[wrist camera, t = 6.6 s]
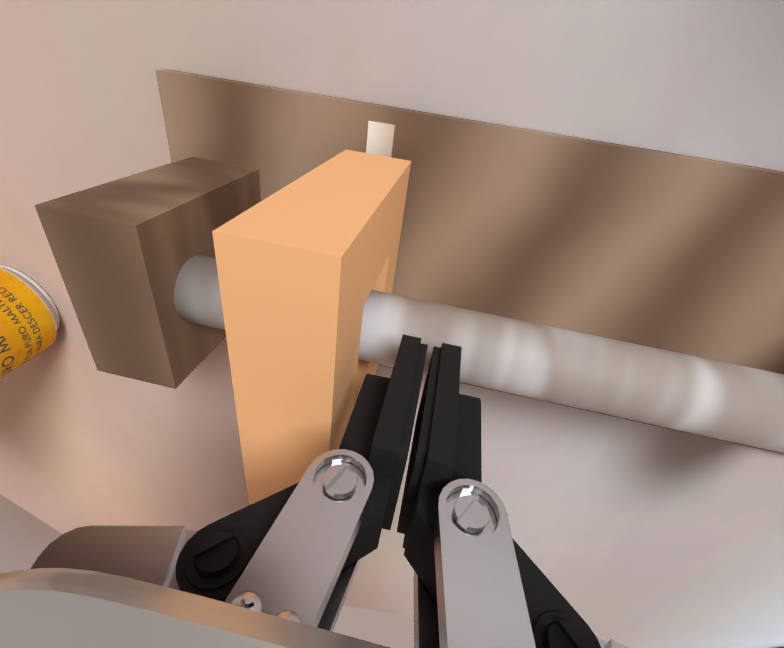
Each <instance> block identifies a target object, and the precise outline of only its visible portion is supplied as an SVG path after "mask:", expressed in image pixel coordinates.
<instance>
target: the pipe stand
mask: <svg viewBox="0 0 784 648" xmlns="http://www.w3.org/2000/svg"><path fill="white" fill-rule="evenodd" d="M156 75H157V81H158V86H159V92H160V98H161V103H162V109H163V115H164V121H165V126H166V132H167V138H168V143H169V149H170V155H171V160H172V163H170V164H167V165H164V166H160V167H157V168H154V169H151V170H147V171H144V172H141V173H138V174H134V175H131V176H128V177H125V178H121V179H118V180H115V181H112V182H108V183H105V184H102V185H99V186H96V187H92V188H89V189H86V190H83V191H79V192H76V193H73V194H70V195H66V196H63V197H60V198H57V199H53V200H50V201H47V202H44V203H40V204H37V205H35V207H36V210H37V213H38V215H39V218H40V221H41V223H42V226H43V228H44V231H45V234H46V236H47V239H48V241H49V244H50V247H51V249H52V252H53V255H54V257H55V260H56V262H57V265H58V268H59V270H60V273H61V275H62V278H63V281H64V283H65V286H66V289H67V291H68V294H69V296H70V299H71V302H72V304H73V307H74V309H75V312H76V315H77V317H78V320H79V323H80V325H81V328H82V330H83V333H84V336H85V338H86V341H87V343H88V346H89V349H90V351H91V354H92V357H93V359H94V362H95V364H96V367H97V370H98V371H102V372H107V373H111V374H115V375H119V376H124V377H128V378H132V379H136V380H141V381H145V382H149V383H153V384H158V385H162V386H166V387H170V388H174V389H176V388H177V387H178V386H179V385H180V384H181V383H182V382H183V380H184V379H185V378H186V377H187V376H188V375H189V374H190V373H191V372H192V371H193V370H194V369H195V368H196V367H197V366H198V365H199V364H200V362H201V361H202V360H203V359H204V358H205V357H206V356H207V355H208V354H209V353H210V352H211V351H212V350H213V349H214V348H215V347H216V346H217V345H218V343H219V342H220V341H221V340H222V339H223V338H224V337H225V336H226V331H225V324H224V316H223V309H222V301H221V294H220V286H219V279H218V271H217V264H216V256H215V249H214V241H213V234H212V231H213V230H215V229H217V228H218V227H220V226H222V225H223V224H225V223H227V222H228V221H230V220H231V219H233V218H235V217H236V216H238V215H240V214H241V213H243V212H245V211H246V210H248V209H249V208H251V207H253V206H254V205H256V204H258V203H259V202H261V201H263V200H264V199H266V198H267V197H269V196H271V195H272V194H274V193H276V192H277V191H279V190H280V189H282V188H284V187H285V186H287V185H289V184H290V183H292V182H294V181H295V180H297V179H298V178H300V177H302V176H303V175H305V174H307V173H308V172H310V171H312V170H313V169H315V168H316V167H318V166H320V165H321V164H323V163H325V162H326V161H328V160H330V159H331V158H333V157H334V156H336V155H338V154H339V153H341V152H343V151H344V150H352V151H358V152H363V153H369V154H375V155H380V156H386V157H392V158H397V159H403V160H409V161H411V167H410V174H409V180H408V187H407V194H406V201H405V208H404V214H403V221H402V228H401V235H400V242H399V248H398V255H397V262H396V269H395V276H394V282H393V289H392V294H390V293H385V292H380V291H375V290H371V292H370V294H369V296H368V298H367V300H366V303H365V305H364V307H363V316H362V326H361V336H360V345H359V355H358V359H359V360H363V361H368V362H372V363H377V364H379V365H383V366H387V367H392V368H394V364H395V360H396V357H397V353H398V350H399V346H400V343H401V339H402V336H403V334H404V335H409V336H414V337H418V338H422V339H421V343H422V344H427V345H428V348H427V353H426V359H425V364H424V370H423V375H427V373H428V368H429V364H430V360H431V356H432V351H433V347H434V346H436V347H441V345H442V343H446V344H451V345H456V346H461V347H462V350H461V367H460V383H464V384H469V385H473V386H478V387H482V388H487V389H491V390H496V391H500V392H505V393H509V394H514V395H519V396H523V397H528V398H532V399H537V400H541V401H546V402H550V403H555V404H559V405H564V406H568V407H573V408H577V409H582V410H586V411H591V412H596V413H600V414H605V415H609V416H614V417H618V418H623V419H627V420H632V421H636V422H641V423H645V424H650V425H654V426H659V427H664V428H668V429H673V430H677V431H682V432H686V433H691V434H695V435H700V436H704V437H709V438H713V439H718V440H722V441H727V442H731V443H736V444H741V445H745V446H750V447H754V448H759V449H763V450H768V451H772V452H777V453H781V454H784V172H783V171H776V170H770V169H764V168H758V167H752V166H746V165H740V164H734V163H728V162H722V161H716V160H710V159H704V158H698V157H692V156H686V155H680V154H674V153H668V152H662V151H656V150H650V149H644V148H638V147H632V146H626V145H620V144H614V143H608V142H602V141H596V140H590V139H584V138H578V137H572V136H566V135H560V134H554V133H548V132H542V131H536V130H529V129H523V128H517V127H511V126H505V125H499V124H493V123H487V122H481V121H475V120H469V119H463V118H457V117H451V116H445V115H439V114H433V113H427V112H421V111H415V110H409V109H403V108H397V107H391V106H385V105H379V104H373V103H367V102H361V101H355V100H349V99H343V98H337V97H331V96H325V95H319V94H313V93H307V92H301V91H295V90H289V89H283V88H276V87H270V86H264V85H258V84H252V83H246V82H240V81H234V80H228V79H222V78H216V77H210V76H204V75H198V74H192V73H186V72H180V71H174V70H156Z"/></svg>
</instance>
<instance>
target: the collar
mask: <svg viewBox="0 0 784 648" xmlns="http://www.w3.org/2000/svg"><path fill="white" fill-rule="evenodd" d="M410 167H411V161H409V160H403V159H397V158H392V157H386V156H380V155H375V154H369V153H363V152H358V151H352V150H344V151H343V152H341V153H339V154H338V155H336V156H334V157H333V158H331V159H330V160H328V161H326V162H325V163H323V164H321V165H320V166H318V167H316V168H315V169H313V170H312V171H310V172H308V173H307V174H305V175H303V176H302V177H300V178H298V179H297V180H295V181H294V182H292V183H290V184H289V185H287V186H285V187H284V188H282V189H280V190H279V191H277V192H276V193H274V194H272V195H271V196H269V197H267V198H266V199H264V200H263V201H261V202H259V203H258V204H256V205H254V206H253V207H251V208H249V209H248V210H246V211H245V212H243V213H241V214H240V215H238V216H236V217H235V218H233V219H231V220H230V221H228V222H227V223H225V224H223V225H222V226H220V227H218V228H217V229H215V230H213V231H212V234H213V241H214V249H215V256H216V264H217V271H218V279H219V286H220V294H221V301H222V309H223V316H224V324H225V331H226V339H227V346H228V354H229V361H230V369H231V376H232V384H233V391H234V399H235V406H236V414H237V421H238V429H239V436H240V444H241V451H242V459H243V466H244V474H245V481H246V489H247V496H248V504H250V505H251V504H254V503H256V502H258V501H260V500H262V499H264V498H266V497H268V496H270V495H273V494H275V493H277V492H279V491H281V490H283V489H285V488H287V487H290V486H292V485H294V484H296V483H298V482H300V480H301V478H302V477H303V475H304V474H305V472H306V470H307V469H308V467H309V466H310V464H311V463H312V462H313V461H314V460H315V459H316V458H317V457H318V456H320V455H321V454H323V453H324V452H327V451H331V450H334V449H339V446H340V444H341V441H342V438H343V435H344V433H345V430H346V427H347V424H348V422H349V419H350V416H351V414H352V411H353V408H354V405H355V403H356V400H357V397H358V394H359V392H360V389H361V386H362V384H363V381H364V378H365V376H366V374H367V373H368V374H372V375H376V372H377V369H378V366H379V364H377V363H372V362H368V361H363V360H359V359H358V355H359V345H360V336H361V326H362V316H363V307H364V305H365V303H366V300H367V298H368V296H369V294H370V292H371V290H375V291H380V292H385V293H390V294H392V289H393V282H394V276H395V269H396V262H397V255H398V248H399V242H400V235H401V228H402V221H403V214H404V208H405V201H406V194H407V187H408V180H409V174H410Z"/></svg>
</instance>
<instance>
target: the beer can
mask: <svg viewBox="0 0 784 648" xmlns="http://www.w3.org/2000/svg"><path fill="white" fill-rule="evenodd" d="M59 324H60V317H59V313H58V310H57V308H56V306H55V304H54V303H53V301H52V299H51V298H50V297H49V295H48V294H47V293H46V292H45V291H44V290H43V289H42V288H41V287H40V286H39V285H38V284H37V283H36V282H35V281H34V280H32V279H31V278H30V277H28V276H27V275H25V274H23V273H22V272H20V271H18V270H16V269H13V268H11V267H8V266H4V265H0V378H1V377H3V376H4V375H6V374H7V373H9V372H10V371H12V370H13V369H15V368H17V367H18V366H20V365H21V364H23V363H24V362H26V361H27V360H29V359H30V358H32V357H34V356H35V355H37V354H38V353H40V352H41V351H43V350H44V349H46V348H47V347H49V346H50V345H52V344H53V343H54V341H55V339H56V333H57V329H58V328H59Z"/></svg>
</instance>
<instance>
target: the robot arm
mask: <svg viewBox="0 0 784 648" xmlns="http://www.w3.org/2000/svg"><path fill="white" fill-rule="evenodd" d="M421 339H422V338H418V337H414V336H409V335H404V334H403V336H402V339H401V343H400V346H399V350H398V353H397V357H396V360H395V364H394V368H393V371H392V375H391V378H386V377H381V376H377V375H372V374H368V373H367V374H366V376H365V378H364V381H363V384H362V386H361V389H360V392H359V394H358V397H357V400H356V403H355V405H354V408H353V411H352V414H351V416H350V419H349V422H348V424H347V427H346V430H345V433H344V435H343V438H342V441H341V444H340V446H339V449H334V450H331V451H327V452H324V453H323V454H321V455H320V456H318V457H317V458H316V459H315V460H314V461H313V462H312V463H311V464H310V466H309V467H308V469H307V470H306V472H305V474H304V475H303V477H302V478H301V480H300V482H298V483H296V484H294V485H292V486H290V487H287V488H285V489H283V490H281V491H279V492H277V493H275V494H273V495H270V496H268V497H266V498H264V499H262V500H260V501H258V502H256V503H254V504H251V505H249V506H247V507H245V508H243V509H241V510H239V511H237V512H234V513H232V514H230V515H228V516H226V517H224V518H222V519H220V520H217V521H215V522H213V523H211V524H209V525H207V526H206V527H204V528H202V529H201V530H199V531H186V530H185V527H184V526H85V527H79V528H76V529H73V530H71V531H69V532H67V533H64V534H62V535H61V536H60V537H58V538H57V539H56V540H54V541H53V542H52V543H50V544H49V545H48V546H47V547H46V548H45V549H44V551H43V552H42V553H41V554H40V555H39V557H38V558H37V560H36V561H35V562H34V564H33V566H32V567H31V569H28V570H18V571H11V572H6V573H0V648H389V647H385V646H382V645H378V644H375V643H371V642H367V641H364V640H360V639H357V638H353V637H349V636H345V635H342V634H339V633H335V632H332V631H333V629H334V626H335V624H336V621H337V619H338V616H339V613H340V611H341V609H342V606H343V604H344V601H345V599H346V596H347V593H348V591H349V588H350V586H351V583H352V581H353V578H354V576H355V573H356V571H357V568H358V566H359V563H360V559H361V558H362V557H364V556H365V555H367V554H369V553H370V552H372V551H373V550H375V549H376V548H377V547H378V543H379V538H380V533H381V529H382V528H383V529H387V530H390V529H391V524H392V520H393V516H394V512H395V508H396V503H397V499H398V495H399V491H400V486H401V482H402V478H403V474H404V469H405V465H406V461H407V456H408V451H409V446H410V441H411V436H412V430H413V425H414V419H415V414H416V408H417V403H418V397H419V392H420V386H421V381H422V375H423V370H424V364H425V359H426V353H427V348H428V345H427V344H422V343H421ZM461 350H462V347H461V346H456V345H451V344H446V343H442V345H441V347H436V346H434V347H433V351H432V356H431V360H430V364H429V368H428V373H427V377H426V381H425V385H424V389H423V394H422V398H421V402H420V406H419V411H418V415H417V420H416V425H415V431H414V437H413V442H412V448H411V454H410V459H409V465H408V471H407V476H406V482H405V488H404V494H403V499H402V505H401V511H400V516H399V522H398V528H397V532H399V533H403V534H405V536H404V543H403V548H405V552H404V555H405V557H406V559H407V560H408V562H409V563H410V565H411V566H412V568H413V569H414V648H628V647H626V646H624V645H622V644H620V643H618V642H616V641H614V640H612V639H611V640H610V641H609V642H606V641H604V640H602V639H600V638H598V637H596V636H595V634H594V633H593V632H592V630H591V629H590V627H589V626H588V625H587V623H586V622H585V621H584V620H583V619H582V618H581V617H580V615H579V614H578V613H577V612H576V611H575V610H574V608H573V607H572V606H571V605H570V604H569V603H568V602H567V600H566V599H565V598H564V597H563V596H562V595H561V594H560V592H559V591H558V590H557V589H556V588H555V587H554V585H553V584H552V583H551V582H550V581H549V580H548V579H547V577H546V576H545V575H544V574H543V573H542V572H541V571H540V569H539V568H538V567H537V566H536V565H535V564H534V562H533V561H532V560H531V559H530V558H529V557H528V556H527V554H526V553H525V552H524V551H523V550H522V549H521V548H520V546H519V545H518V544H517V543H516V542H515V541H514V539H513V538H512V535H511V530H510V526H509V521H508V516H507V512H506V510H505V507H504V504H503V502H502V501H501V499H500V498H499V497H498V495H497V494H496V493H495V492H494V491H493V490H492V489H491V488H489V487H488V486H487V485H485V484H483V483H481V400H480V398H476V397H471V396H467V395H462V394H459V384H460V367H461Z"/></svg>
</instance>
